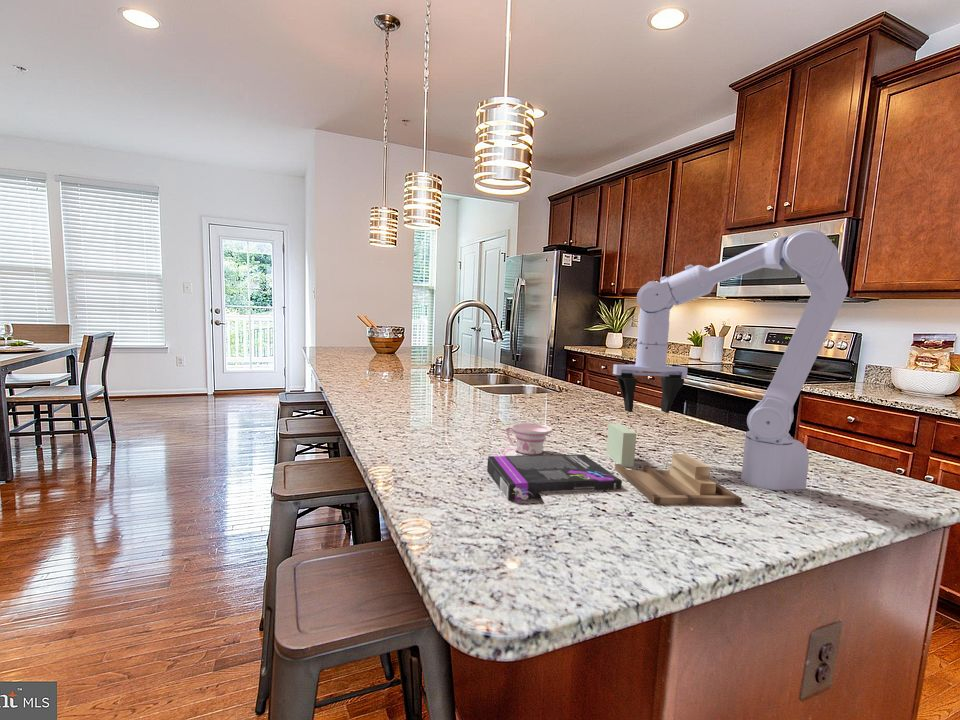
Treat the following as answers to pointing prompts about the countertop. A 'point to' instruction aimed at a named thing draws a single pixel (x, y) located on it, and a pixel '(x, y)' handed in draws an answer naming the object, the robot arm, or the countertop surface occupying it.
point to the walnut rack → (672, 488)
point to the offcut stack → (692, 474)
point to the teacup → (526, 439)
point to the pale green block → (621, 444)
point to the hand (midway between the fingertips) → (646, 411)
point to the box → (548, 475)
